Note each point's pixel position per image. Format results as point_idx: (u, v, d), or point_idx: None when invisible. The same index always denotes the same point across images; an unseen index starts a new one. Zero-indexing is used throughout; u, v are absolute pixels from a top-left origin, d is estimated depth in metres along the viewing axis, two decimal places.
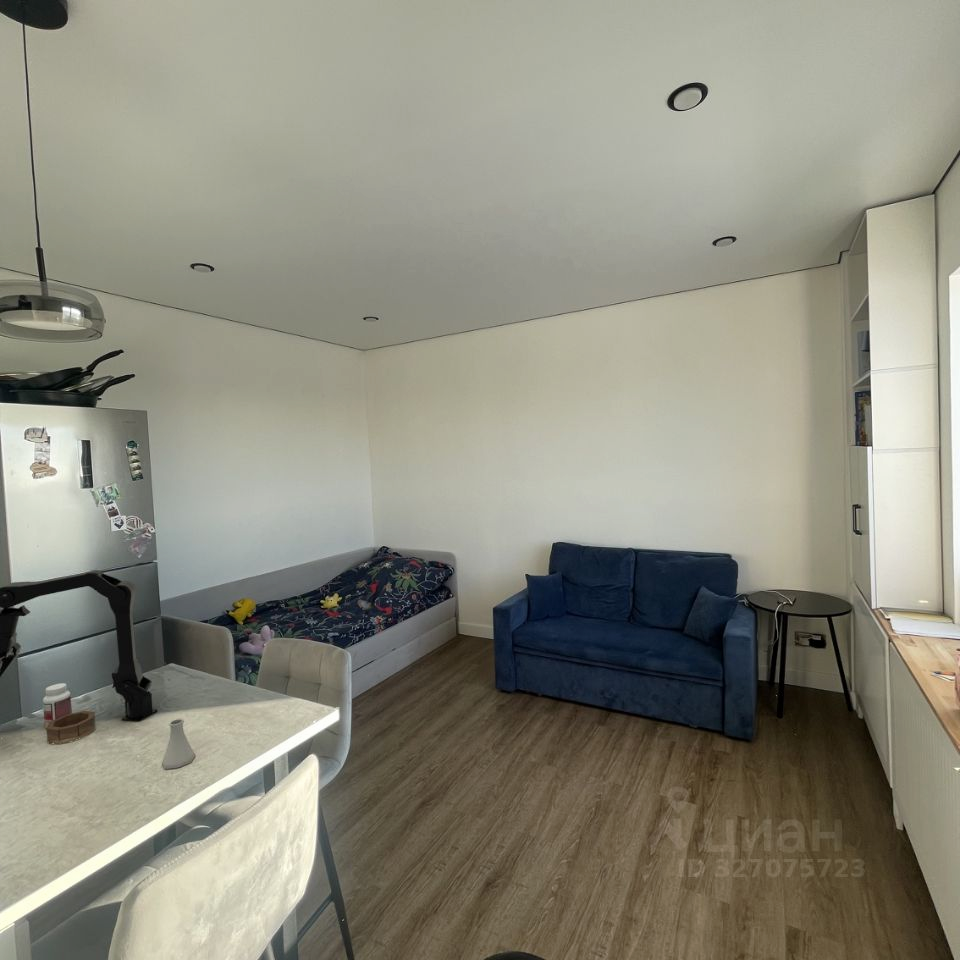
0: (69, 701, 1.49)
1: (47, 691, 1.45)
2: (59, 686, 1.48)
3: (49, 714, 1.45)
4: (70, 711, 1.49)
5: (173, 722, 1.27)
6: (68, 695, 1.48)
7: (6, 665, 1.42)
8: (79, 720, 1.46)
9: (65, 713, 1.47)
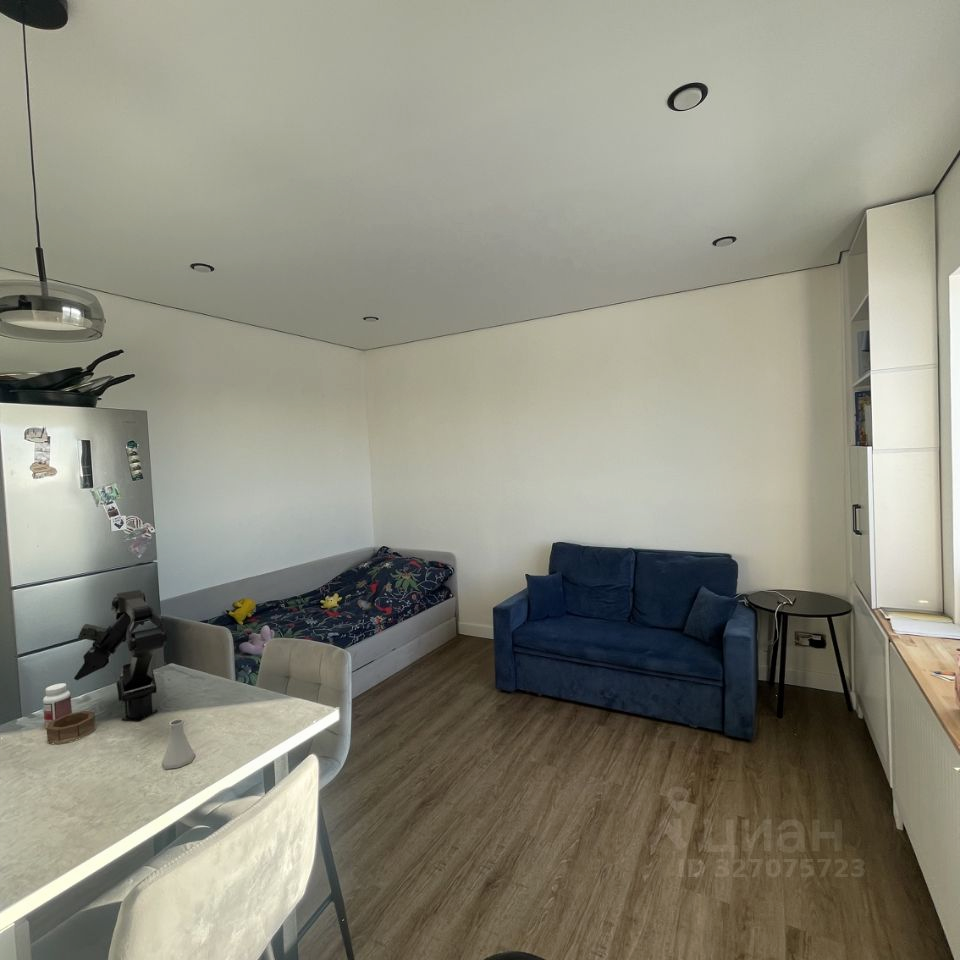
0: (69, 701, 1.49)
1: (47, 691, 1.45)
2: (59, 686, 1.48)
3: (49, 714, 1.45)
4: (70, 711, 1.49)
5: (173, 722, 1.27)
6: (68, 695, 1.48)
7: None
8: (79, 720, 1.46)
9: (65, 713, 1.47)
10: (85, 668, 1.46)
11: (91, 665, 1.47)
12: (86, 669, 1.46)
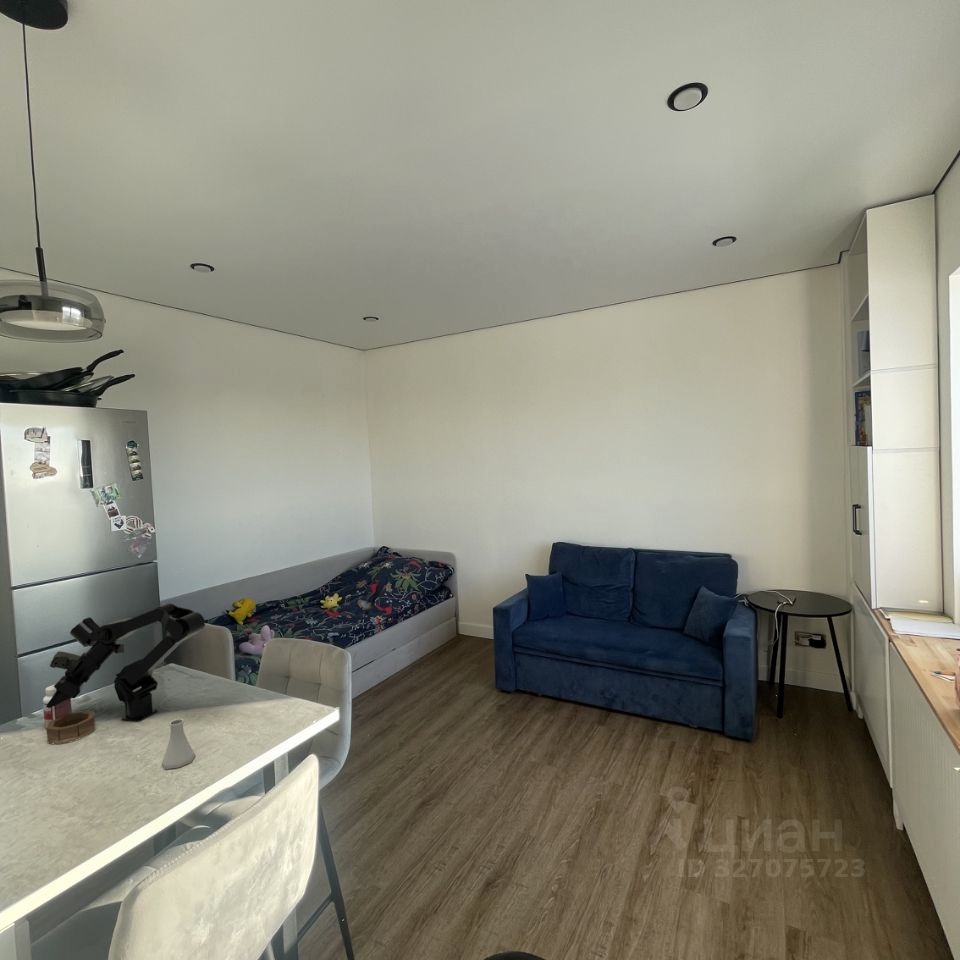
0: (69, 701, 1.49)
1: (47, 691, 1.45)
2: None
3: (49, 714, 1.45)
4: (70, 711, 1.49)
5: (173, 722, 1.27)
6: None
7: None
8: (79, 720, 1.46)
9: (65, 713, 1.47)
10: (57, 696, 1.44)
11: (63, 693, 1.45)
12: (58, 697, 1.44)
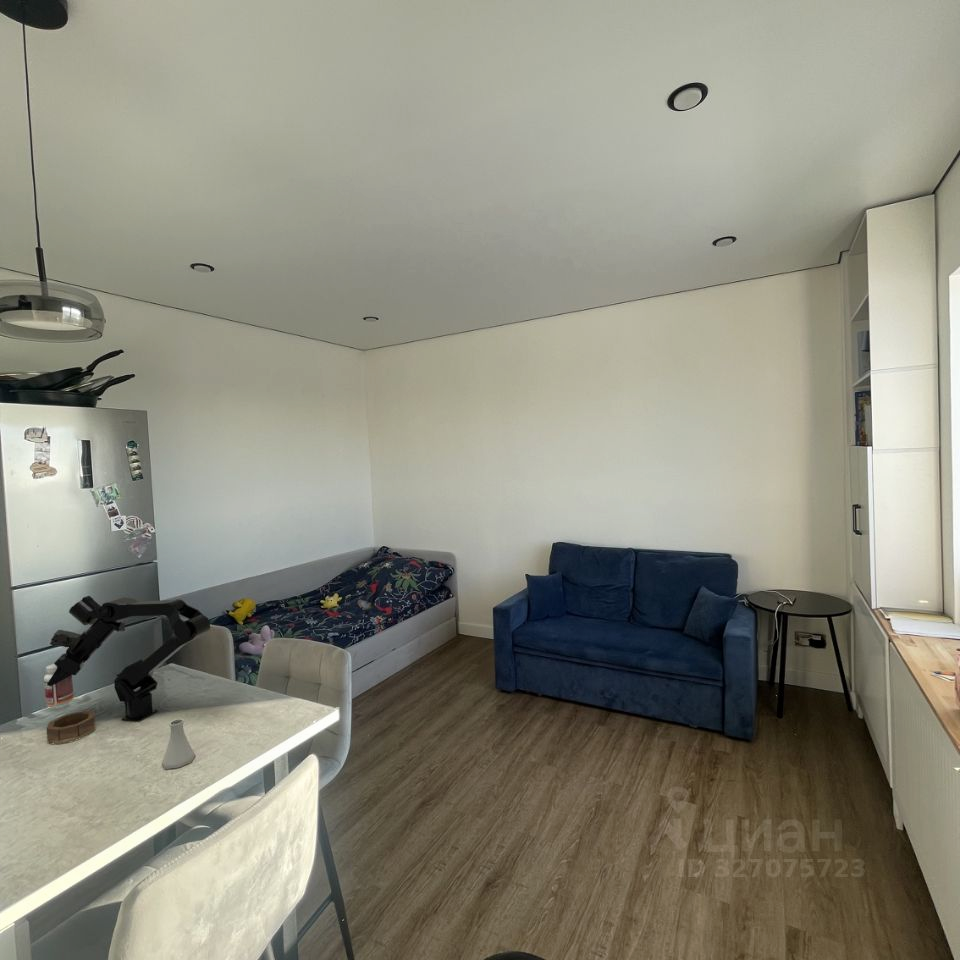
0: (70, 679, 1.48)
1: (48, 669, 1.45)
2: None
3: (50, 692, 1.44)
4: (71, 690, 1.48)
5: (173, 722, 1.27)
6: None
7: None
8: (79, 720, 1.46)
9: (66, 691, 1.46)
10: (58, 674, 1.43)
11: (64, 671, 1.44)
12: (59, 675, 1.43)
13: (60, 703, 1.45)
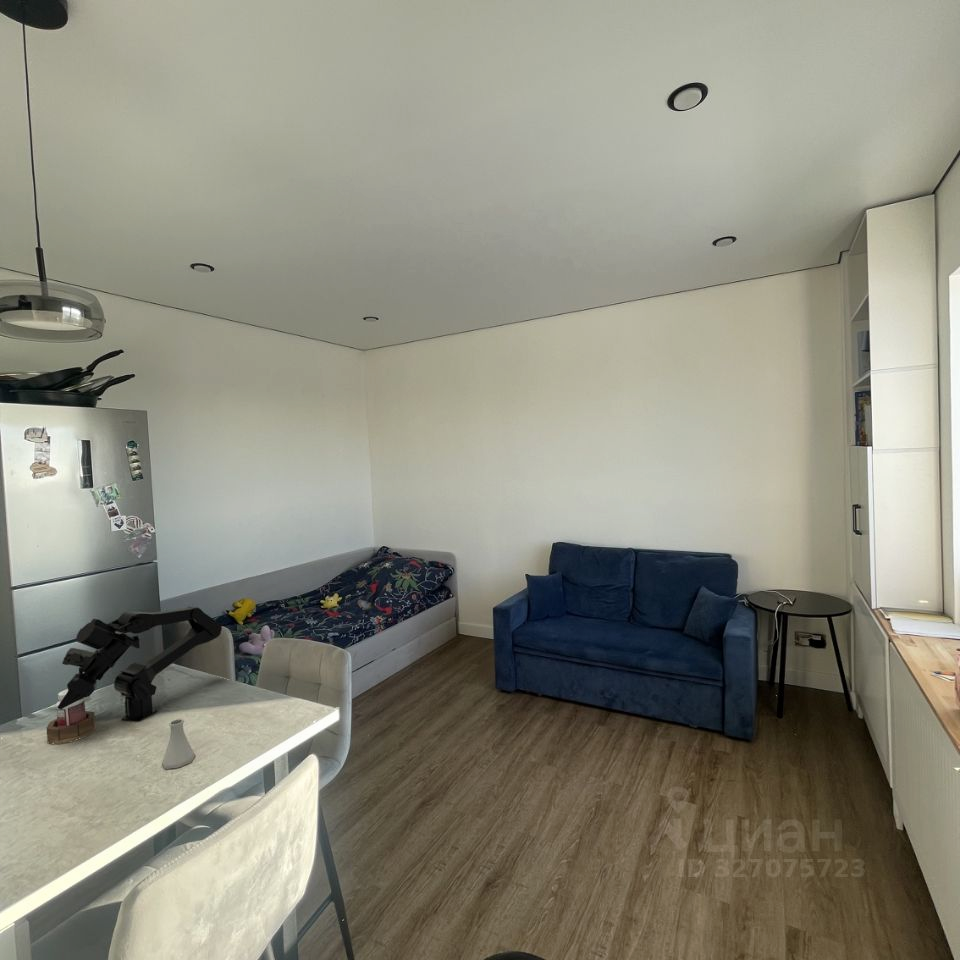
0: (83, 706, 1.42)
1: (60, 696, 1.39)
2: None
3: (63, 720, 1.39)
4: (84, 716, 1.43)
5: (173, 722, 1.27)
6: (82, 700, 1.42)
7: None
8: None
9: (79, 719, 1.41)
10: (69, 696, 1.37)
11: (75, 693, 1.38)
12: (70, 698, 1.37)
13: None
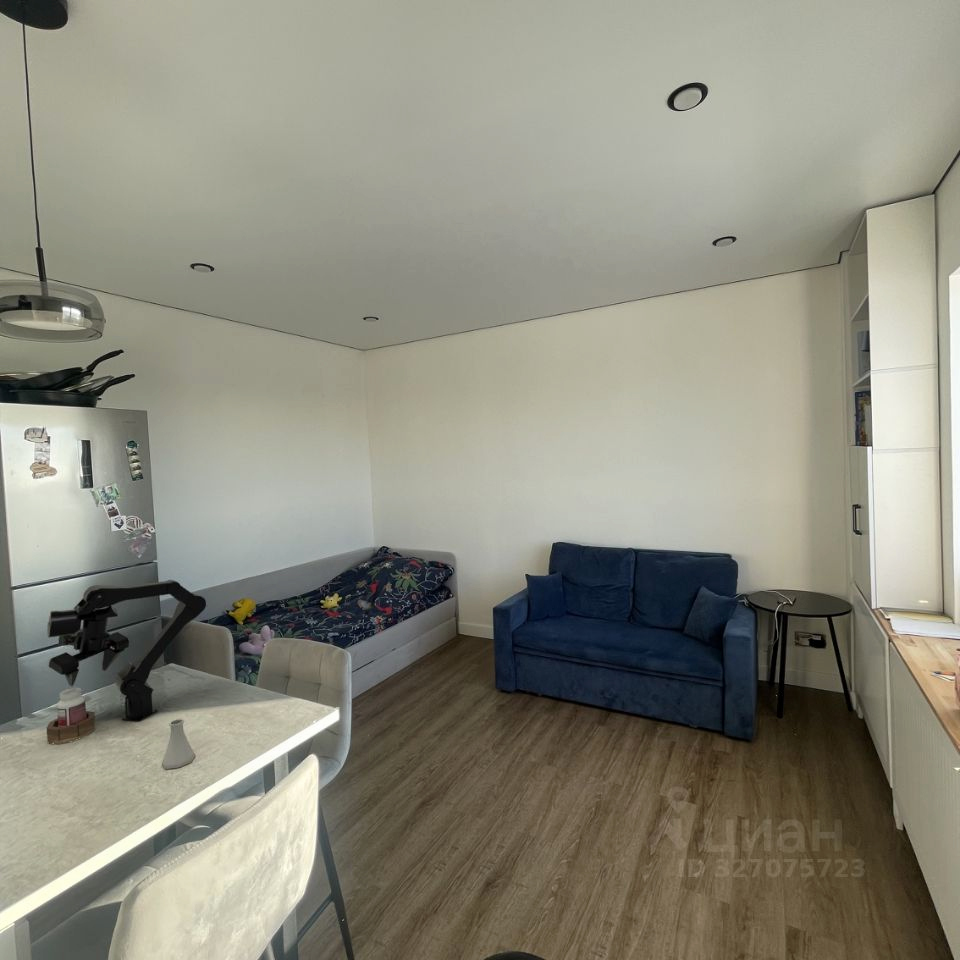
0: (84, 706, 1.42)
1: (61, 696, 1.39)
2: (74, 691, 1.42)
3: (63, 720, 1.39)
4: (85, 717, 1.43)
5: (173, 722, 1.27)
6: (83, 700, 1.42)
7: (112, 658, 1.51)
8: None
9: (80, 719, 1.41)
10: (67, 675, 1.42)
11: None
12: (68, 675, 1.41)
13: None
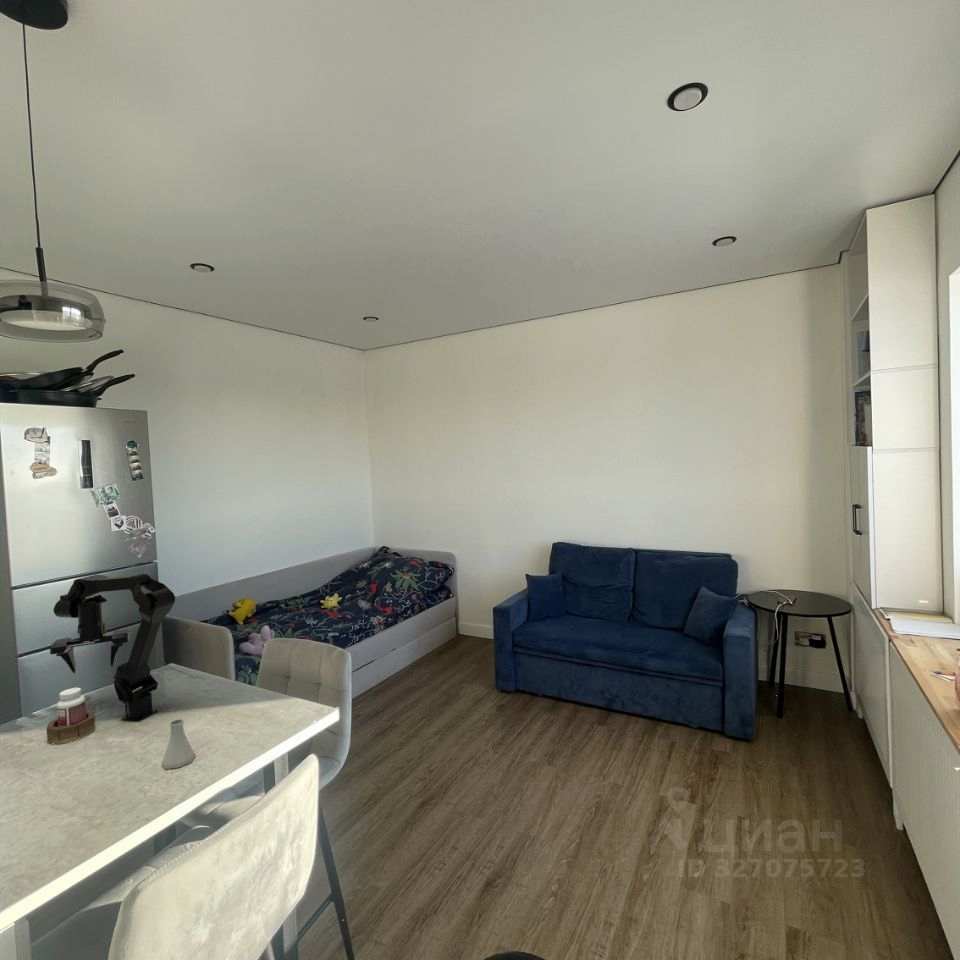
0: (84, 706, 1.42)
1: (61, 696, 1.39)
2: (73, 691, 1.42)
3: (63, 720, 1.39)
4: (85, 717, 1.43)
5: (173, 722, 1.27)
6: (83, 700, 1.42)
7: (111, 652, 1.55)
8: None
9: (80, 719, 1.41)
10: None
11: None
12: None
13: None
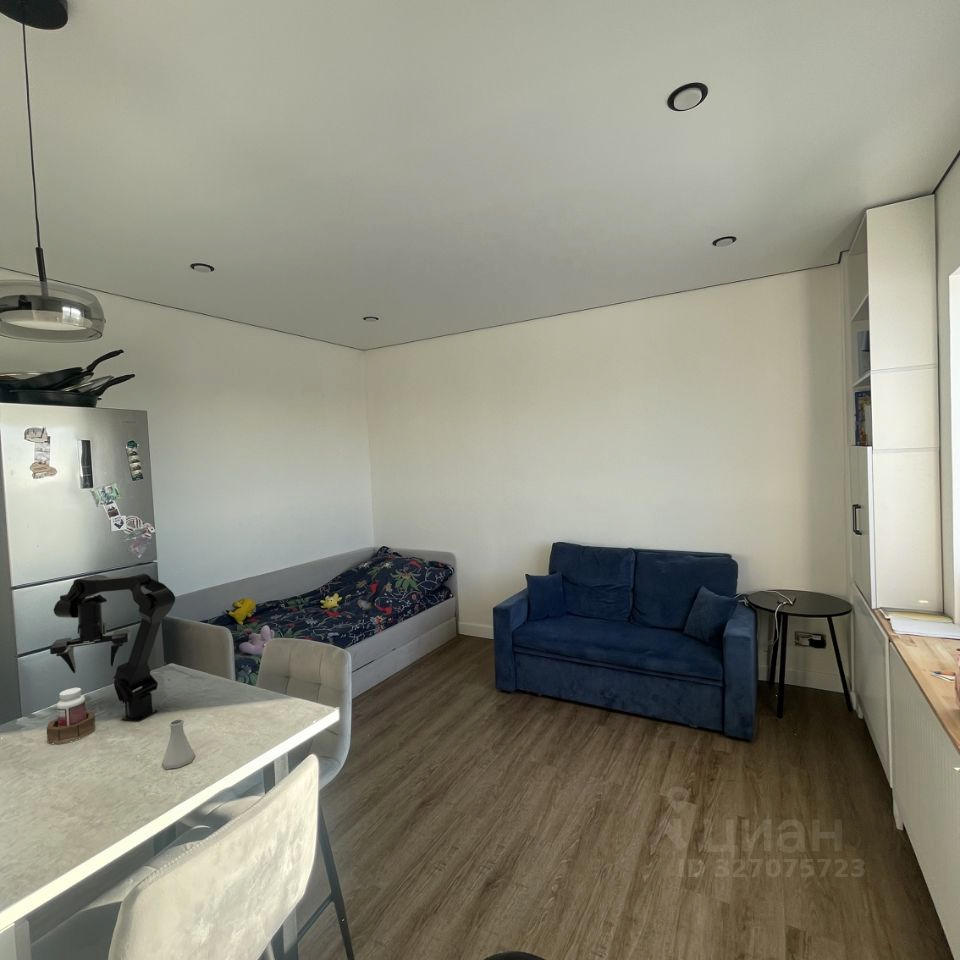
0: (84, 706, 1.42)
1: (61, 696, 1.39)
2: (73, 691, 1.42)
3: (63, 720, 1.39)
4: (85, 717, 1.43)
5: (173, 722, 1.27)
6: (83, 700, 1.42)
7: (111, 652, 1.55)
8: None
9: (80, 719, 1.41)
10: None
11: None
12: None
13: None
